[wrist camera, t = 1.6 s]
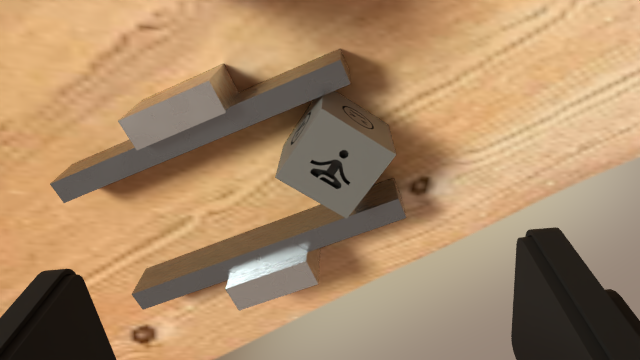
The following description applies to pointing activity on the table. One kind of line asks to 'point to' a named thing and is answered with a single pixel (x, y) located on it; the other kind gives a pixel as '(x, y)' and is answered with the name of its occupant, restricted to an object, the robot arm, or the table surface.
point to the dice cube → (336, 153)
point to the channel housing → (209, 125)
